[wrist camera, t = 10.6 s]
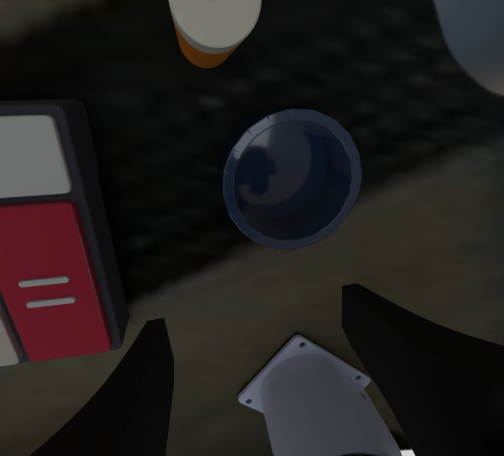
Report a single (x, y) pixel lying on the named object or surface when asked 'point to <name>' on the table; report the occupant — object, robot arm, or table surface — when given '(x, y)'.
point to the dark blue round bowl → (289, 176)
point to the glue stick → (212, 27)
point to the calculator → (54, 238)
